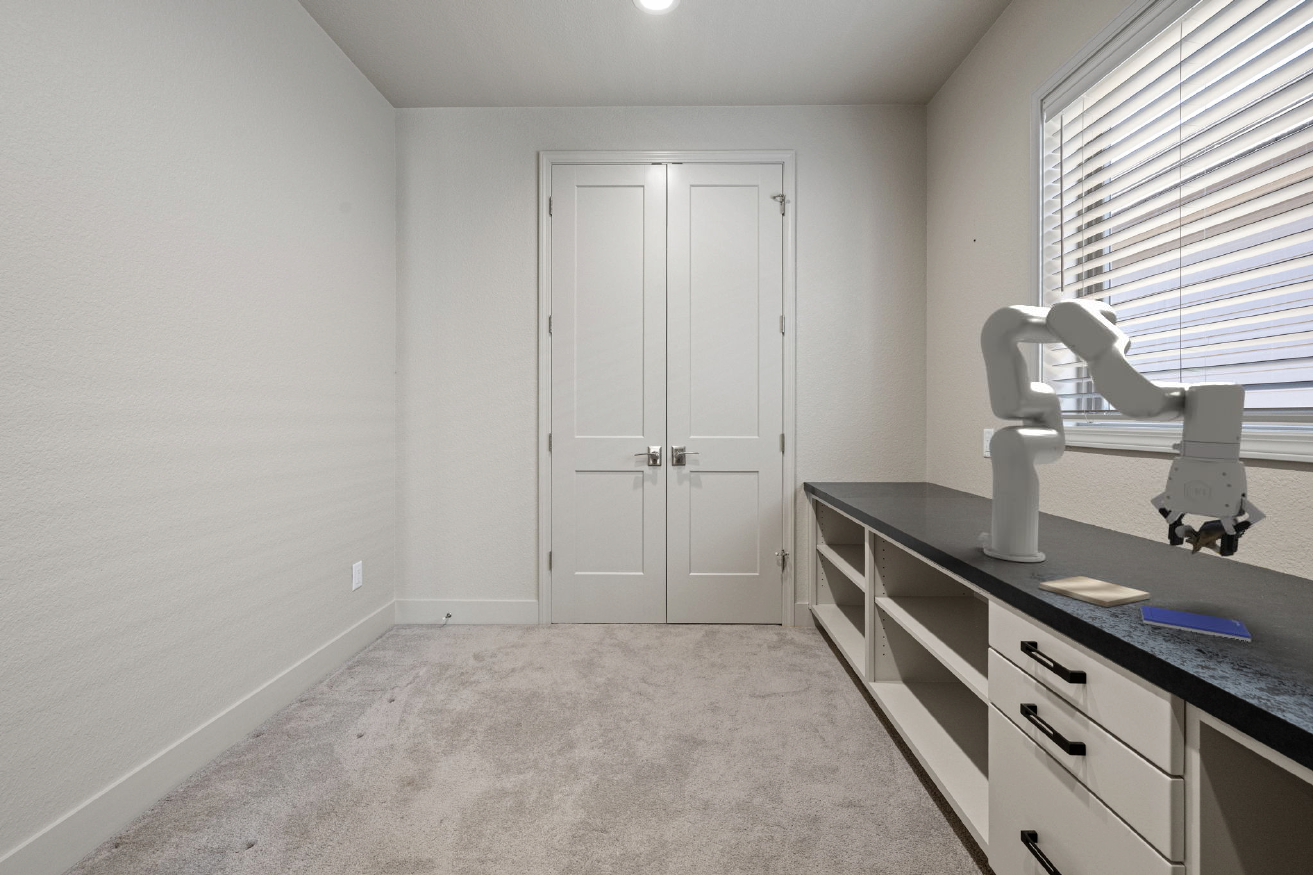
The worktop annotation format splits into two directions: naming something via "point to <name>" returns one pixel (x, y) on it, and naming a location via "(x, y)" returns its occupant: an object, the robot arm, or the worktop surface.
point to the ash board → (1094, 591)
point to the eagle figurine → (1203, 535)
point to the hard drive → (1195, 623)
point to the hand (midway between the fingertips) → (1200, 549)
